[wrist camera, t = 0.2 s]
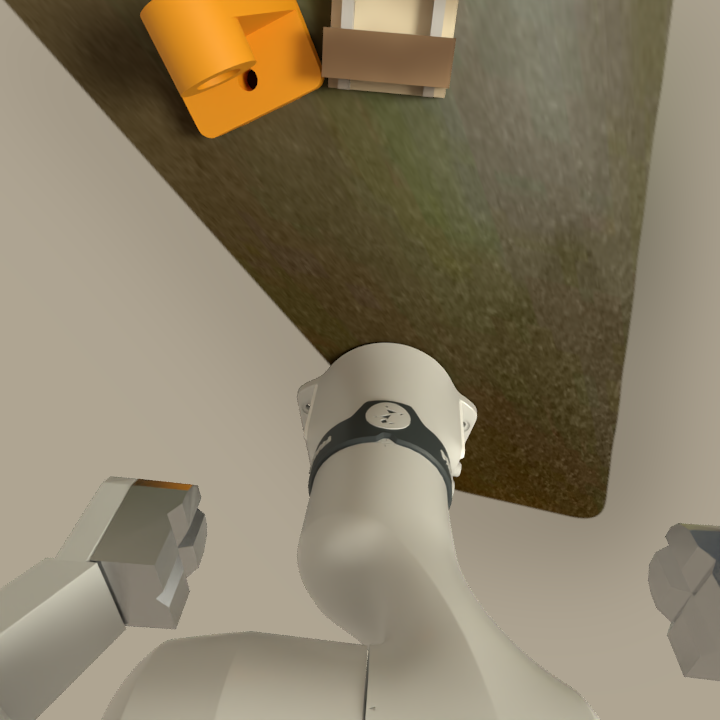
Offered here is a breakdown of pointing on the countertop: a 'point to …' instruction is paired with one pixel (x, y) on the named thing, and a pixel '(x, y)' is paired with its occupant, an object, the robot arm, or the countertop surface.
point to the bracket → (233, 57)
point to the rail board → (394, 24)
